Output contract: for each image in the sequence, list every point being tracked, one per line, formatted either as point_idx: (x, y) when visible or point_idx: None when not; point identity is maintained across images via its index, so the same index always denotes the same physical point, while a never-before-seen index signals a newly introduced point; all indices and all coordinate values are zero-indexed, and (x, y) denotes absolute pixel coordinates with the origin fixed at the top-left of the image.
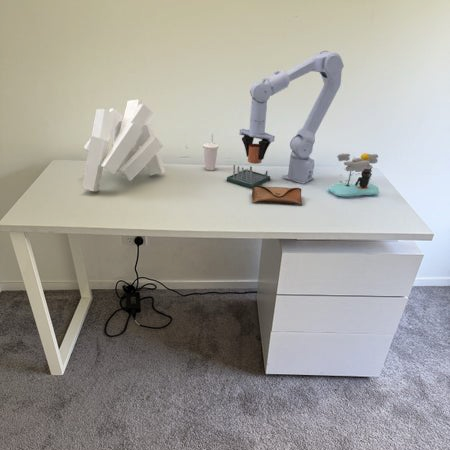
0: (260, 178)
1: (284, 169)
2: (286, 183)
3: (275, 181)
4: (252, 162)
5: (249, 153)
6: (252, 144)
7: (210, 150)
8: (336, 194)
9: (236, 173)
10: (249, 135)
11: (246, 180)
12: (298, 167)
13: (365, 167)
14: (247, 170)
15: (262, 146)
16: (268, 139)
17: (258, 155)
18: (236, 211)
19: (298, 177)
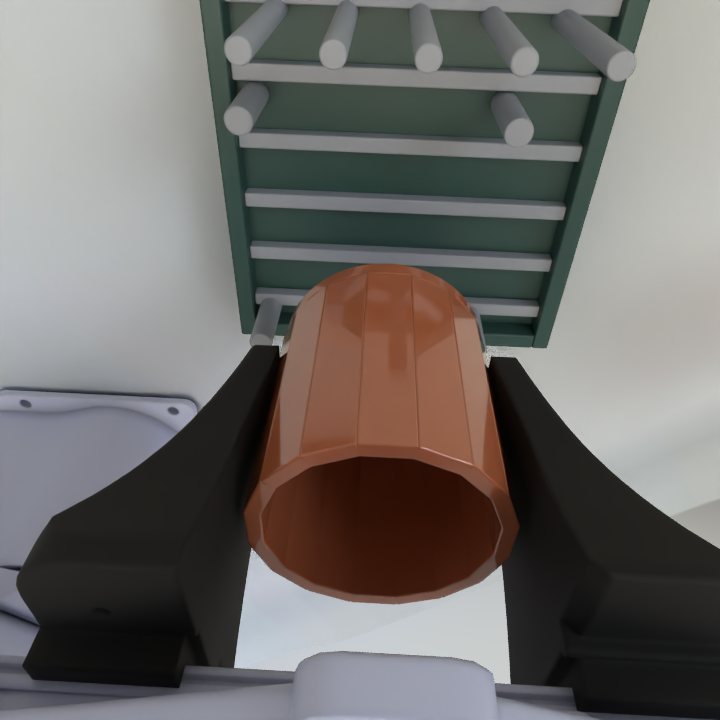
0: (295, 244)
1: None
2: (96, 329)
3: (193, 313)
4: (359, 271)
5: (438, 356)
6: (481, 557)
7: None
8: None
9: (591, 179)
10: (456, 682)
11: (338, 7)
12: (21, 497)
13: None
14: (322, 42)
15: (116, 492)
16: (22, 693)
17: (280, 382)
18: None
19: (50, 430)
